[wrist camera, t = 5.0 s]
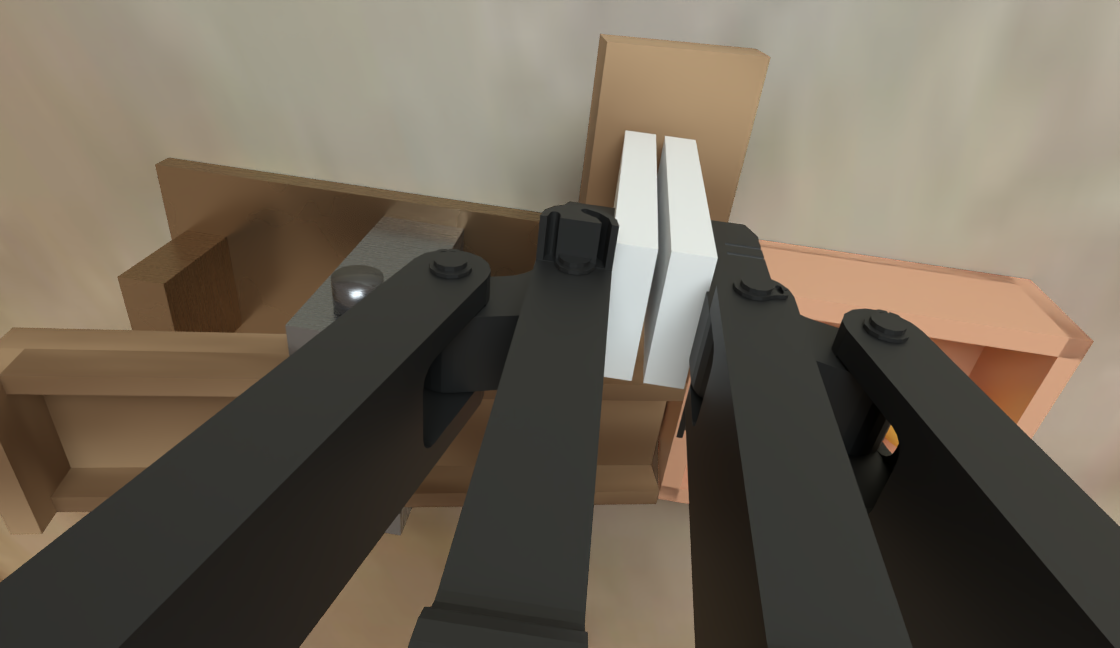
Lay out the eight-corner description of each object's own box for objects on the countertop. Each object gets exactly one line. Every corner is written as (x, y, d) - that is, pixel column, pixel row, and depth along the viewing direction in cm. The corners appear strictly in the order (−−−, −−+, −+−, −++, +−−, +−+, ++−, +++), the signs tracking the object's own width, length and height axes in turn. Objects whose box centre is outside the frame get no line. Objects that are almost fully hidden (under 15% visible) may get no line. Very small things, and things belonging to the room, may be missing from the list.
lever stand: (655, 431, 29) (654, 599, 22) (211, 359, 30) (73, 498, 23) (703, 228, 24) (723, 361, 17) (167, 149, 25) (-29, 244, 18)
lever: (655, 457, 24) (676, 522, 22) (64, 458, 21) (10, 534, 19) (755, 48, 17) (805, 76, 14) (-131, -36, 14) (-262, -19, 11)
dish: (924, 473, 28) (960, 549, 25) (657, 430, 29) (657, 498, 26) (1030, 279, 23) (1093, 341, 20) (705, 231, 24) (713, 284, 21)
